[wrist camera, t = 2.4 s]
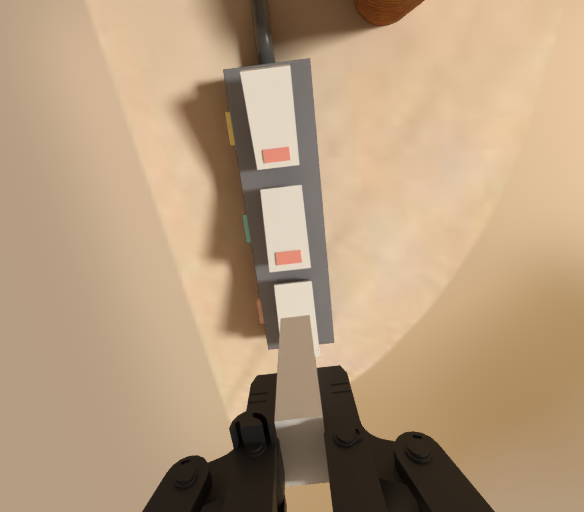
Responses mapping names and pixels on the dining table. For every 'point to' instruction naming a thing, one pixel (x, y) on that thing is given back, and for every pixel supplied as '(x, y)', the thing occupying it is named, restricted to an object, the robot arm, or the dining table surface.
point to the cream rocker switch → (297, 304)
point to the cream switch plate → (285, 228)
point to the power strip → (281, 184)
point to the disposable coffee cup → (385, 10)
